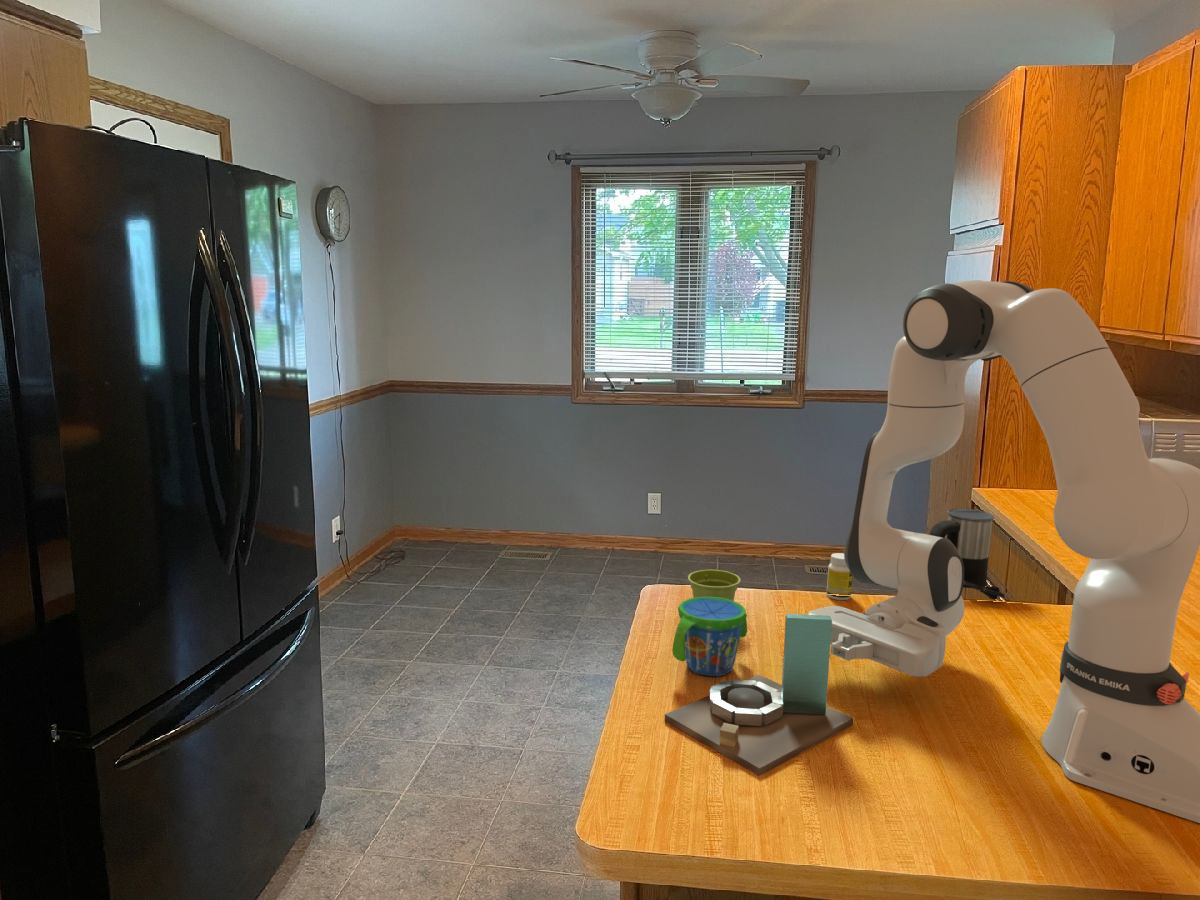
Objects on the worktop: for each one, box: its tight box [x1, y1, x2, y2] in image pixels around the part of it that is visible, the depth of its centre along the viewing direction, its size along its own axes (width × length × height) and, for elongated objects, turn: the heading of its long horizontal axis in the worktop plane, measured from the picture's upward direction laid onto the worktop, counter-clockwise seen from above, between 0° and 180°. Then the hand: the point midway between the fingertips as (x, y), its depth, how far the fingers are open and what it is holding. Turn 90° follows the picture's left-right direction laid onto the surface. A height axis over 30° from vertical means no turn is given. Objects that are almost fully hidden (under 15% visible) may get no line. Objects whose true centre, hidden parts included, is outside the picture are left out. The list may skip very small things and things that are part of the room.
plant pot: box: [687, 569, 741, 601], centre depth 150 cm, size 9×9×9 cm
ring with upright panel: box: [709, 613, 832, 726], centre depth 116 cm, size 13×13×14 cm
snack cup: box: [671, 597, 748, 677], centre depth 132 cm, size 16×10×10 cm
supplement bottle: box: [826, 552, 854, 601], centre depth 164 cm, size 5×5×8 cm
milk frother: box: [928, 508, 1005, 601], centre depth 169 cm, size 14×16×15 cm
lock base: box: [664, 674, 854, 776], centre depth 115 cm, size 17×20×3 cm
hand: (839, 652), depth 120 cm, fingers closed
